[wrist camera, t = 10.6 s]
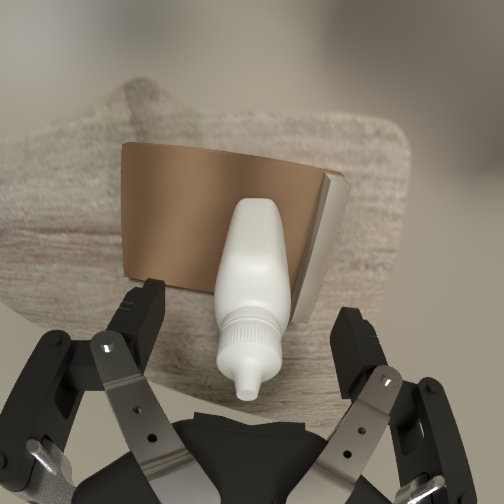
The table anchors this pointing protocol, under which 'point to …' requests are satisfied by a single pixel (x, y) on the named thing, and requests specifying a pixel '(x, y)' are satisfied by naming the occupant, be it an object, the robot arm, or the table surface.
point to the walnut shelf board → (223, 215)
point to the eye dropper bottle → (252, 297)
